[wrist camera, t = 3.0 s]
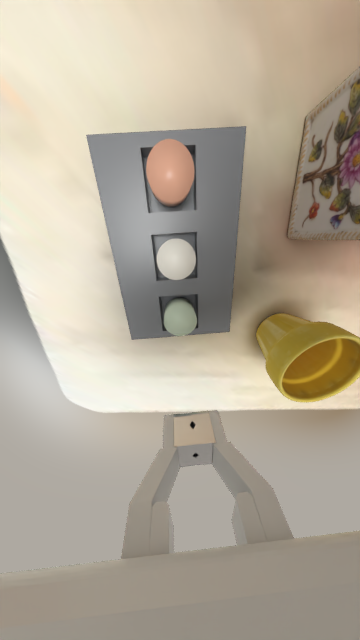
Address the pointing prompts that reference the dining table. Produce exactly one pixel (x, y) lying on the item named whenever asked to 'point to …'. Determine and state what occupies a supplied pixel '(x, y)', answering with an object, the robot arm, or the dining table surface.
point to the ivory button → (176, 259)
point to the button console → (172, 224)
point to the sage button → (179, 317)
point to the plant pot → (308, 357)
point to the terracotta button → (170, 172)
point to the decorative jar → (330, 169)
